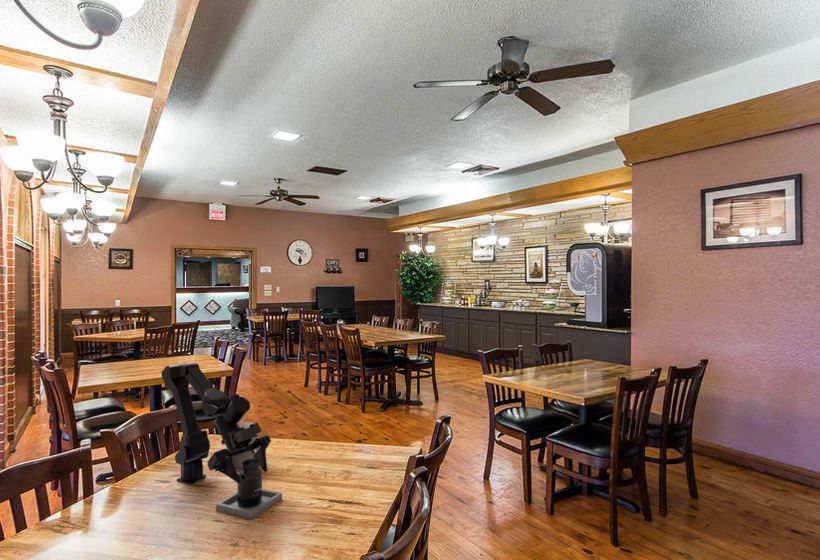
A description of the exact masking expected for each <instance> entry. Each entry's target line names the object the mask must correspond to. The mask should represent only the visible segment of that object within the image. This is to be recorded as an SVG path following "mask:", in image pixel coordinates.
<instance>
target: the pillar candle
mask: <svg viewBox="0 0 820 560" xmlns="http://www.w3.org/2000/svg"><path fill="white" fill-rule="evenodd" d="M254 423H255V422H238V425H239V426H240V428H241V427H243V428H244V429H247V428H250V425H251V424H254ZM256 438H258V436H257V437H253V438H251V439H252V441H251V442H249V443H248V444H252V443H253V442H254V441H255V439H256ZM253 455H254V453H252V452H251V451H249V452H246V453H243V454H241V455H238V456H235V457H232V460H233V465H234V467H235V469H236V471H242V469H241V467H242V462H243V461H245V460H248V459H255V458H254V457H253Z"/></svg>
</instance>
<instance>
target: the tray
mask: <svg viewBox="0 0 820 560" xmlns="http://www.w3.org/2000/svg"><path fill="white" fill-rule="evenodd" d="M237 494H238V491H236V492H235V493H233V494H231V495H229V496H228V497H226V498H224V499H222V500H221V501H219V502H217V503H216V504H215V511H216V512H221V513H225V514H229V515H233V516H236V517H240V518H244V519H247V520H250V521H251V520H252V521H253V520H254V519H255V518H257V517H258V516H259V515H261V514H262V513H264V512H266V511H267V510H268V509H270V508H272V507H273V506H275V505H276V504H278V503H279V502H280V501H281V500H283V492H279V491H275V490H270V489H267V488H262V500H261V502H260V503H259V504H258V505H256V506H253V507H240V506H239V505H238V503H237Z"/></svg>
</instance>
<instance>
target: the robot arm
mask: <svg viewBox="0 0 820 560" xmlns="http://www.w3.org/2000/svg"><path fill="white" fill-rule="evenodd" d="M161 378H162V380H163V383H164V384H165V387H166V388H167V389H169V390H170V391H171V392H172V395H173V399H174V403H175V407H176V411H177V416H178V418H179V423H180V427H181V432H182V435H181V439H180V441H179V450H178V451H177V453H176V454H175V456H174V460H175V463H176V464H177V465H180V477H179V478H177V479H176V481H177V482H180V483H185V484H190V485H191V484H194V483H196V482H198V481H200V480H202V479H204V478H207V475H206V474H205V473H204V465H203V462H204V461H203V460H204V459H207V458H208V456H209V453H210V448H211V444H210V442H211V441H210V440H209V437H208V436H209V435H208V432H207V431H206V430H202V429H201V428H200V427H199V424H198V421H197V416H196V412H195V408H194V404H193V401H192V395H191V392H190V389H189V387H190V386H191V388H192V389H193V390H194V391H195V393H196V395H198V397H199V398H200V400H201V405H200V406H201V408H202V410H203V412H204V414H205V415H206V417H208V418H212V417H215V416H218V417H217V418H215V419H214V420H213V423H212V429H213V430H215V429H217V430H218V433H219V435H220V437H221V438H222V440H221V441H220V443H221V445H225V447H226V448H221V449H220V450H216V451H215V452H213V453H212V454H211V457H210V458H209V459H208V460H207V466H208V469H209V471H213V470H214V471H215V472H219V473H221V474H223V475H225V476H226V477H228V478H230V479H231V480H233V481H234V482H235V483H237V484H238V483H240V481H241V480H240V477H239V475H238V474H239V473H238V470H236V469H235V467H234V465H233V460H232V457H235V456H238V455H241V454H243V453H246V452H249V451H251V452H252V453H254V455H253V457H254V458H255V459H257V460H259V468H260V469H261V471H262V472H264V473H265V472H267V471H268V463H267V458H266V457H267V456H266V455H267V454H266V452H267V449H268V447H269V445H270V444H271V442H272V439H271V437H270V436H269V435H267V434H264V435H261V436H258V434H260V433H261V431H262V429H261V425H259V423H258V422H253V423H254V424H251V425H250V428H247V429H244V428H243V427H241V428H240V426H239V425H238V423H241V421H242V419H243V418H244V417H245V416H246V414H247V413H248V412H249V410H251V409H250V408H251V402H250V401H249V400H248V399H247V398H245V397H243V396H240V394H239V393H235V394H232V395H231V396H230V397H229V396H228V395H227V393H225V392H224V391H223V390H219V389H216V387H214V385H213V384H212V383H211V382H210V380H209V379H208V378H207V376H206V375H205V374H204V372H203V371H202V370H201V369H200V365H199V363H197V362H196V363H195V362H192V363H177V364H169V365H166V366H165V367H164V369H163V370H162V371H161ZM253 437H257V438H256V439H255V441H254V442H253V443H252V444H248V443H249V442H251V441H252V439H251V438H253Z"/></svg>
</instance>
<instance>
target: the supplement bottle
mask: <svg viewBox="0 0 820 560" xmlns="http://www.w3.org/2000/svg"><path fill="white" fill-rule="evenodd" d="M241 469H242V470H239V473H238V475H239V477H240V480H241V481H240V483H237V492H238V494H237V503H238V505H239V506H240V507H253V506H256V505H258V504H259V503H260V502H261V500H262V489H263V470H262V469H261V468H260V466H259V460H257V459H248V460H245V461H243V462H242V467H241Z"/></svg>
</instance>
